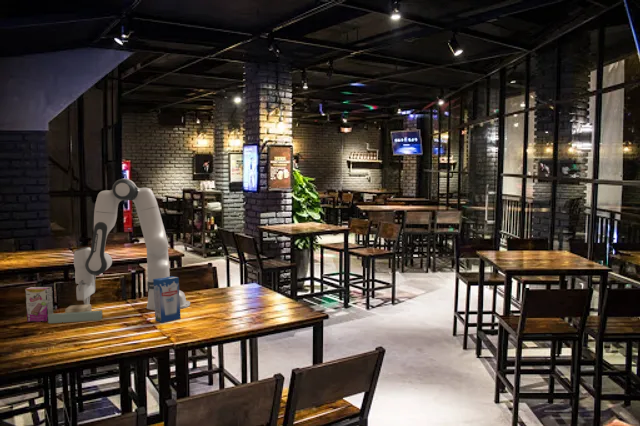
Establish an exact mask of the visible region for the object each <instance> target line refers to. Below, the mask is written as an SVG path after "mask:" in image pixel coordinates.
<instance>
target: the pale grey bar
mask: <svg viewBox="0 0 640 426" xmlns="http://www.w3.org/2000/svg"><path fill="white" fill-rule="evenodd" d="M102 319H103V310H92V311H85V312H70V313H65V312H59V313H58V312H57V313H53V314H49V315H48V322H47V323H48V324H62V322H63V323H75V322H77V323H78V322H91V321H102Z"/></svg>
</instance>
